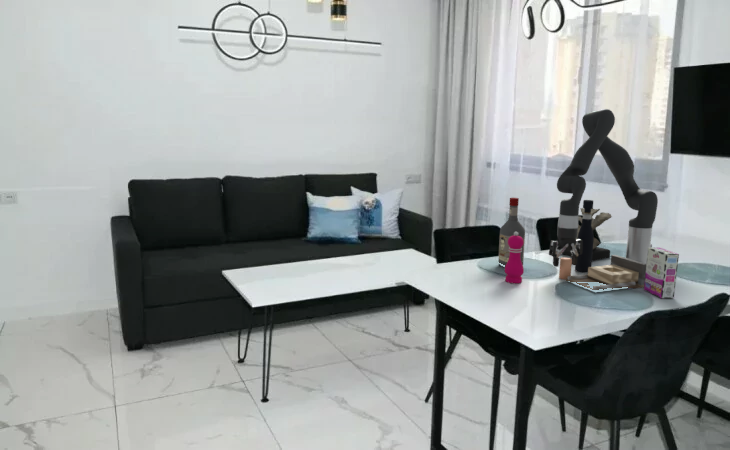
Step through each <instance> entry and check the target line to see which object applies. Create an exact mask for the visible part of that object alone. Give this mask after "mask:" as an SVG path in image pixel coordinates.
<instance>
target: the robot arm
mask: <svg viewBox="0 0 730 450" xmlns="http://www.w3.org/2000/svg"><path fill="white" fill-rule="evenodd" d="M615 122H616V117H615V114H614V113H613V111H612V110H611V109H610V108H609V109H608V108H603V109H599V110H594V111H591V112H590V111H589V112H588V113H587V112H586V113H585V114H584V115H583V117H582V120H581V123H582V128H583V130H584V131H585V133H586V135H587V136H588V137H589V138H587V140H585V142H583V144H582V145H580V147H578V149H577V150H576V152H575V153H574V154H573V158H572V160H571V162H570V164H569V165H568V167H566V169H565V170H564V171H563V172H562V173H561V174H560V176H559V178H558V179H557V182H556V188H557V191H558V192H559V193H563V194H571V195H572V196H571V197H570V198H566V199H562V200H561V201H560V205H559V214H558V215H559V216H558V219H557V220H558V221H557V232H556V233H557V234H556V235H557V239H556V240H550V243H549V251H548V256H550V257H552V266H553V267H556V268H557V267H558V268H559V267H560V256H561V255H563V254H562V253H563V252H566V251H570V252H571V253H572V256H571V259H572V266H575V265H576V264H577V257H578V255H580V254H582V250H583V240H580V239H577V240H576V238H577V234H578V224H579V222H580V220H579V219H578V217H579V215H580V213H579V212H580V204H581V201H582V198H583V195H584V194H585V190H586V187H587V182H586V179H585V178H584V177H583V176H584V175H586V174H587V173H588V171H589V169H590V166H591V165H592V163H593V161H594V159H595V156H596V154H597V152H599V153H600V155H601V156H602V158H603V160H604V162H605V164H606V165H607V167H608V169H609V171H610V172H611V174H612V176H613V177H614V179H615V181H616V183H617V184H618V186H619V189H620V190H621V193H622V195H623V198H624V200H625V202H626V204H627V206H628V207H629V208H630V209H631V210H634V211H637V215H636V217H633V218H630V219H629V221H628V228H627V229H628V230H627V240H626V249H625V258H628V259H631V260H635V261H638V262H641V263H645V264H647V255H648V248H653V244H651V243H652V234H653V233H652V232H653V225H654V223H655V221H656V217H657V209H658V200H659V199H658V195H657V194H656V192H655V191H652V190H646V189H642V188H640V187H639V186H638V184H637V181H636V180H635V179H634V178H635V177H634V175H635V174H634V173H635V163H634V161H633V159H632V157H631V156H630V153H629V152H628V150H626V149H625V148H624V146H621V145H620V144H618V143H617V142H616V141H614V140H612V139H611V138H610V137H609V134H610V133H611V131H612V130H613V128H614V126H615ZM557 245H558V246H557ZM575 245H576V248H575ZM556 246H557V247H556ZM559 249H560V250H559Z"/></svg>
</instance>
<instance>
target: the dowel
mask: <svg viewBox="0 0 730 450" xmlns="http://www.w3.org/2000/svg"><path fill="white" fill-rule="evenodd" d="M571 258H572V257H571ZM571 258H570V257H559V270H558V271H559V273H558V274H559V275H558V279H560V280H565V281H566V279H568V276H572V267H573V265H572V259H571Z"/></svg>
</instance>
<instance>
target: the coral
mask: <svg viewBox="0 0 730 450" xmlns="http://www.w3.org/2000/svg"><path fill="white" fill-rule="evenodd" d="M579 210H580V212H581V215H582V216H578V220H579V222H580V223H581V224H582V219H583V214H585V213H584V210H585V209H584V208H583V207H579ZM599 211H601V209H600V208H597V209H596V208H593V209H591V219H592V224H591V226H592V230H593V231H594V230H595V229H596V228H598V227H601V225H602V224H604V223H605V222H606V221H608V220H609V219H611V218H613V216H612V214H611V213H610V212H600V213H599V214H597V213H598V212H599ZM595 214H596V215H595ZM594 215H595V217H594ZM593 217H594V218H593ZM580 228H581V225H579V223H578V233H579V230H580ZM577 237H578V234H577ZM576 240H577V238H576ZM601 243H602V242H600V241H599V240H598V239H597V238H596V237H594V242H593V254H592V262H593V261H599V260H604V259H611V250H610V249H607V248H603V247H599V246H600V244H601ZM557 246H558V245H557ZM557 246H556V247H557ZM575 248H576V245H575ZM559 250H560V249H559ZM561 255H565V256H568V257H572V253H571V252H570V251H566V252H563V253H562V254H561Z"/></svg>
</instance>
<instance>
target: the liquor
mask: <svg viewBox="0 0 730 450" xmlns="http://www.w3.org/2000/svg"><path fill="white" fill-rule="evenodd" d="M518 210H519V198H518V197H510V198H509V214H508V218H507V219H508V220H507V221H506V222H505V223H504V224H502V226H501V227H500V229H499V241H498V242H499V244H498V262H499V263H501V264H503V265H505V266H506V264H507V262H508V260H509V255H510V251H509V247H510V246H509V245H508V239H509V237H511V236H513V235H514V232H518V236H520V237H522V238H523V241H524V244H523V246H522V247H521V248H522V252H521V254H520V258H521V262H522V265H523V266H524V260H525V259H524V257H525V256H524V255H525V244H526V243H525V242H526V241H525V239H526V230H525V227H524V226H523V225H522V224H521V222H520V221H519V218H518V216H519V215H518V213H519V211H518Z"/></svg>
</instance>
